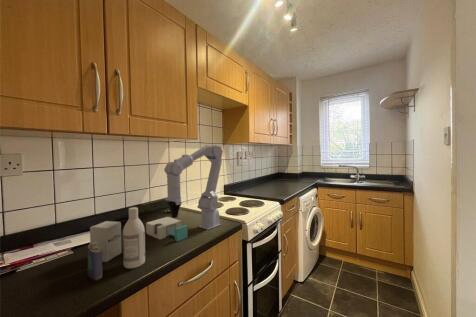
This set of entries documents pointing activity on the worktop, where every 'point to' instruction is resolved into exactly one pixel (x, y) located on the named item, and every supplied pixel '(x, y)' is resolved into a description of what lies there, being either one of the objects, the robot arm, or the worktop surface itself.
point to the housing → (161, 229)
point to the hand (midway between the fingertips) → (174, 217)
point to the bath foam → (133, 241)
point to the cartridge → (177, 232)
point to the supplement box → (107, 238)
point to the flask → (94, 262)
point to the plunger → (156, 227)
